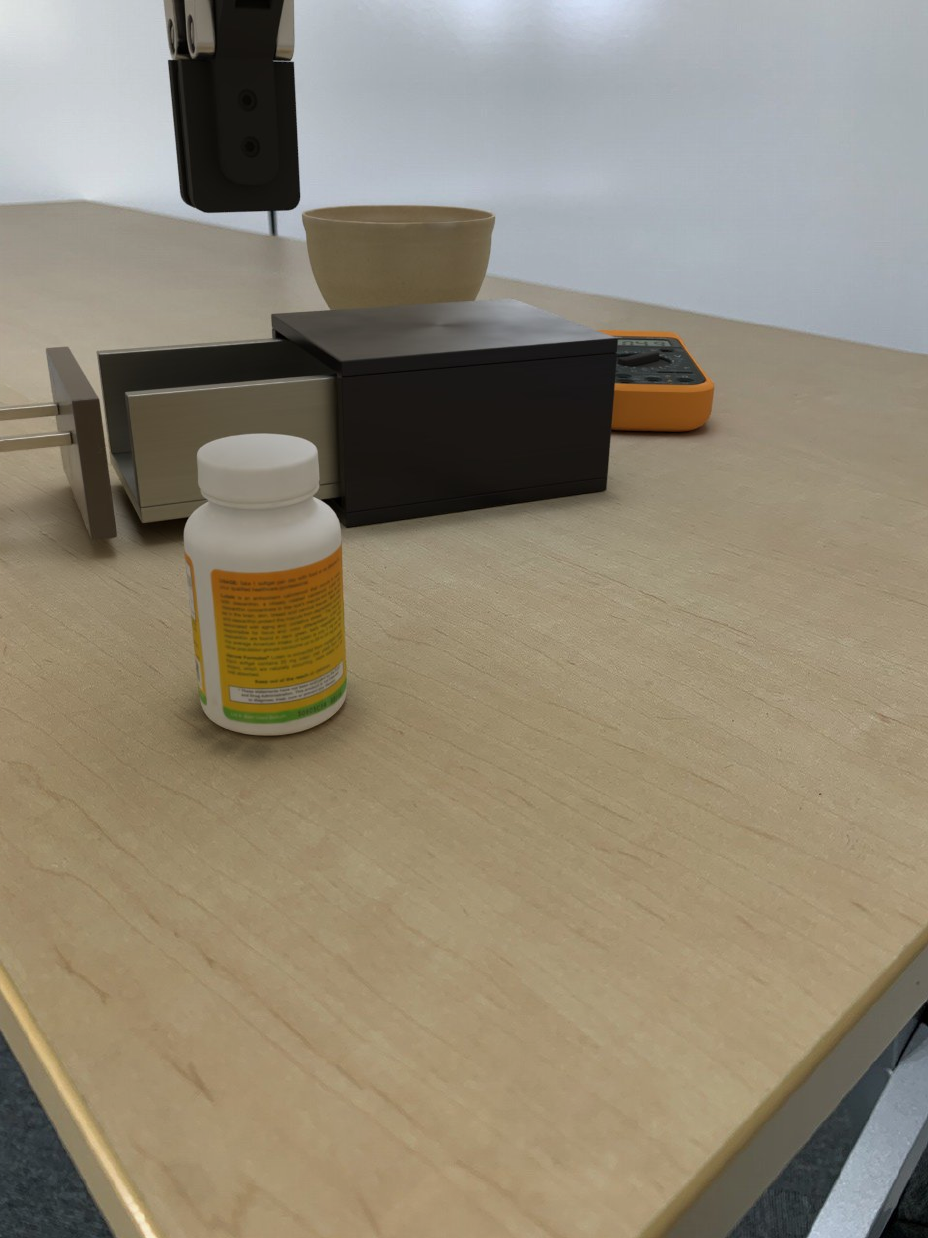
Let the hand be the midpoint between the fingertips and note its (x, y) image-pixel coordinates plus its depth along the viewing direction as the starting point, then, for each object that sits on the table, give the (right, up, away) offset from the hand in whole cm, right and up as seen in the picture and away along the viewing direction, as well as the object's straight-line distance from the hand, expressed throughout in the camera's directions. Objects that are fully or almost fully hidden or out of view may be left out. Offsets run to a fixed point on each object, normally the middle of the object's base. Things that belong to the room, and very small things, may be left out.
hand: (240, 205), depth 33 cm
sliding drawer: (-9, -6, +25) cm, 27 cm away
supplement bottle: (0, -16, +8) cm, 18 cm away
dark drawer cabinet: (+5, -4, +32) cm, 32 cm away
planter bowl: (+1, +12, +63) cm, 65 cm away
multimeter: (+19, +3, +47) cm, 51 cm away
